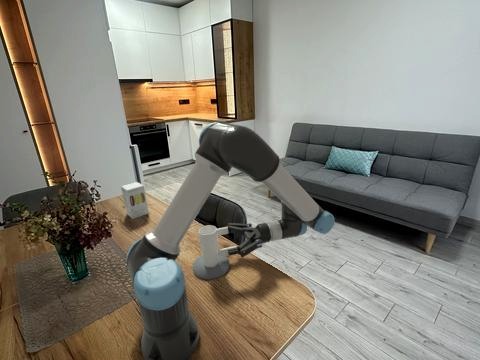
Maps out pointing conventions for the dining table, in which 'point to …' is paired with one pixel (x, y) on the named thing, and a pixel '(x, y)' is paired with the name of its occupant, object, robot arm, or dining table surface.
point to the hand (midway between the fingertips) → (214, 242)
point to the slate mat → (213, 272)
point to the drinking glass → (209, 245)
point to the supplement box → (135, 200)
